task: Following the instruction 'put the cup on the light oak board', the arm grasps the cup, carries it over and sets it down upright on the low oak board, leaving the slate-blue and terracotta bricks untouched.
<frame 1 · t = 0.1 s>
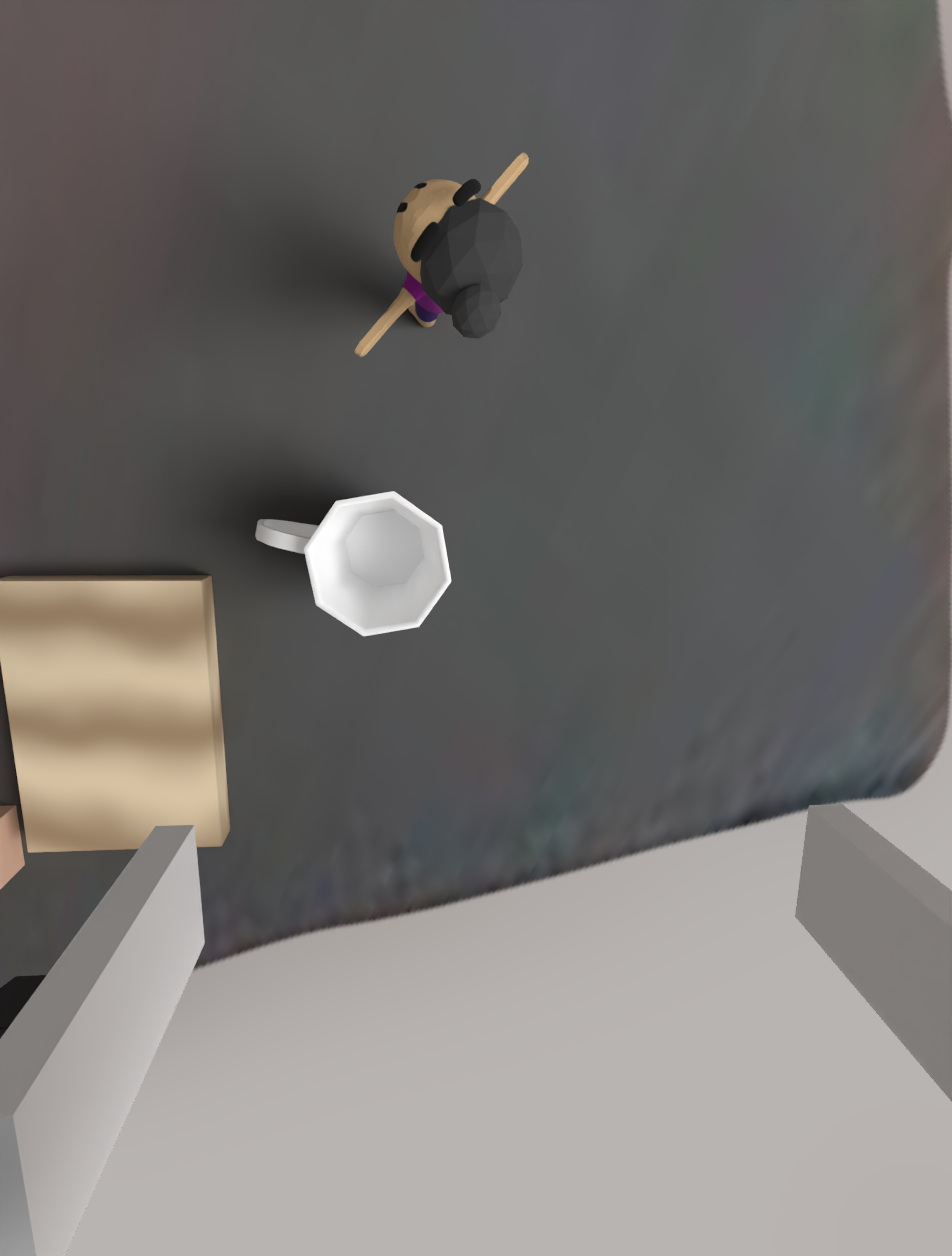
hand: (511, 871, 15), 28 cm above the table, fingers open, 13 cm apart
cup: (360, 540, 41), on the table
oak board: (126, 709, 42), on the table
toy: (447, 321, 38), on the table
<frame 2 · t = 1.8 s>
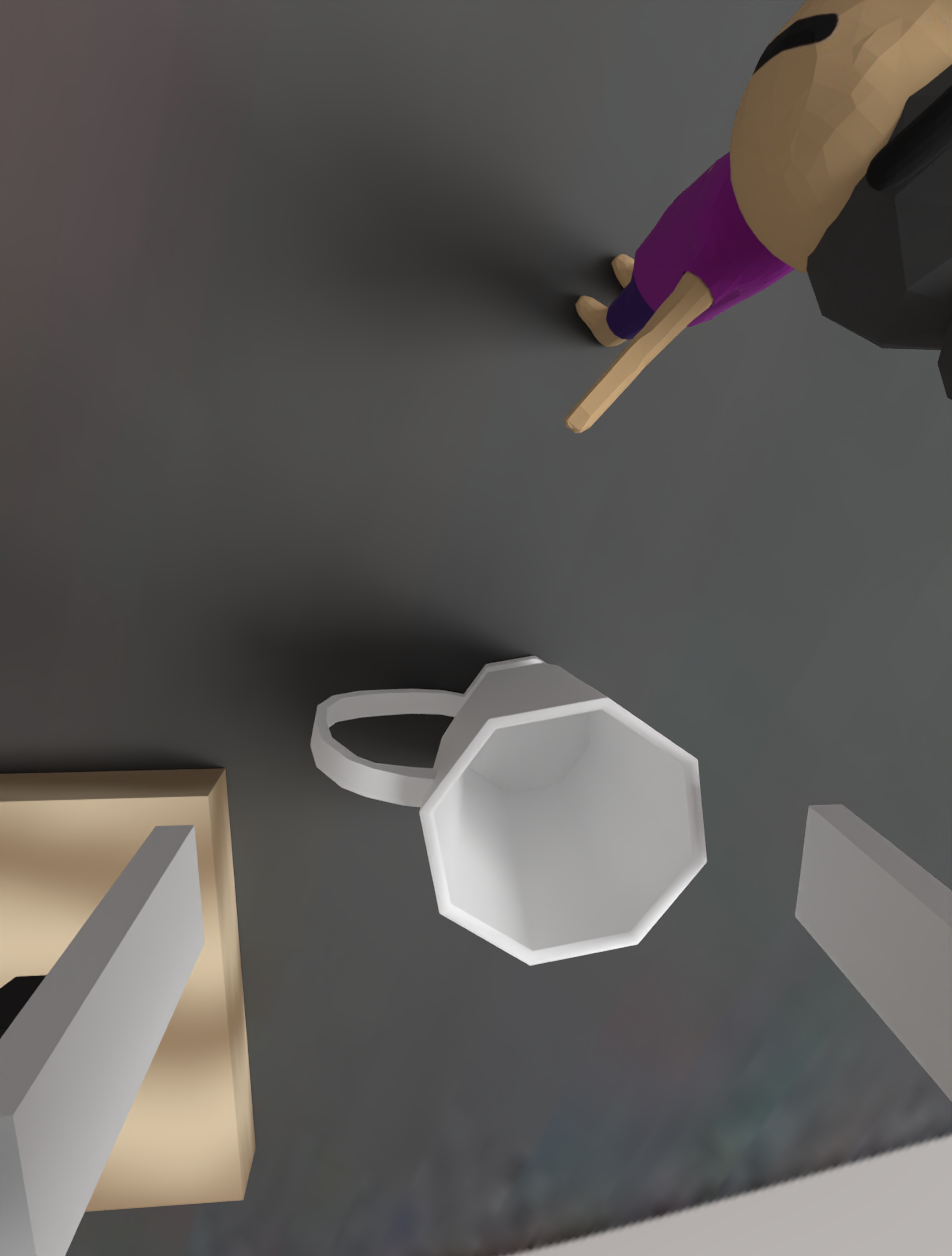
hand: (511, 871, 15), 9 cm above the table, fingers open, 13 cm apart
cup: (476, 705, 24), on the table
oak board: (83, 979, 25), on the table
toy: (642, 334, 22), on the table
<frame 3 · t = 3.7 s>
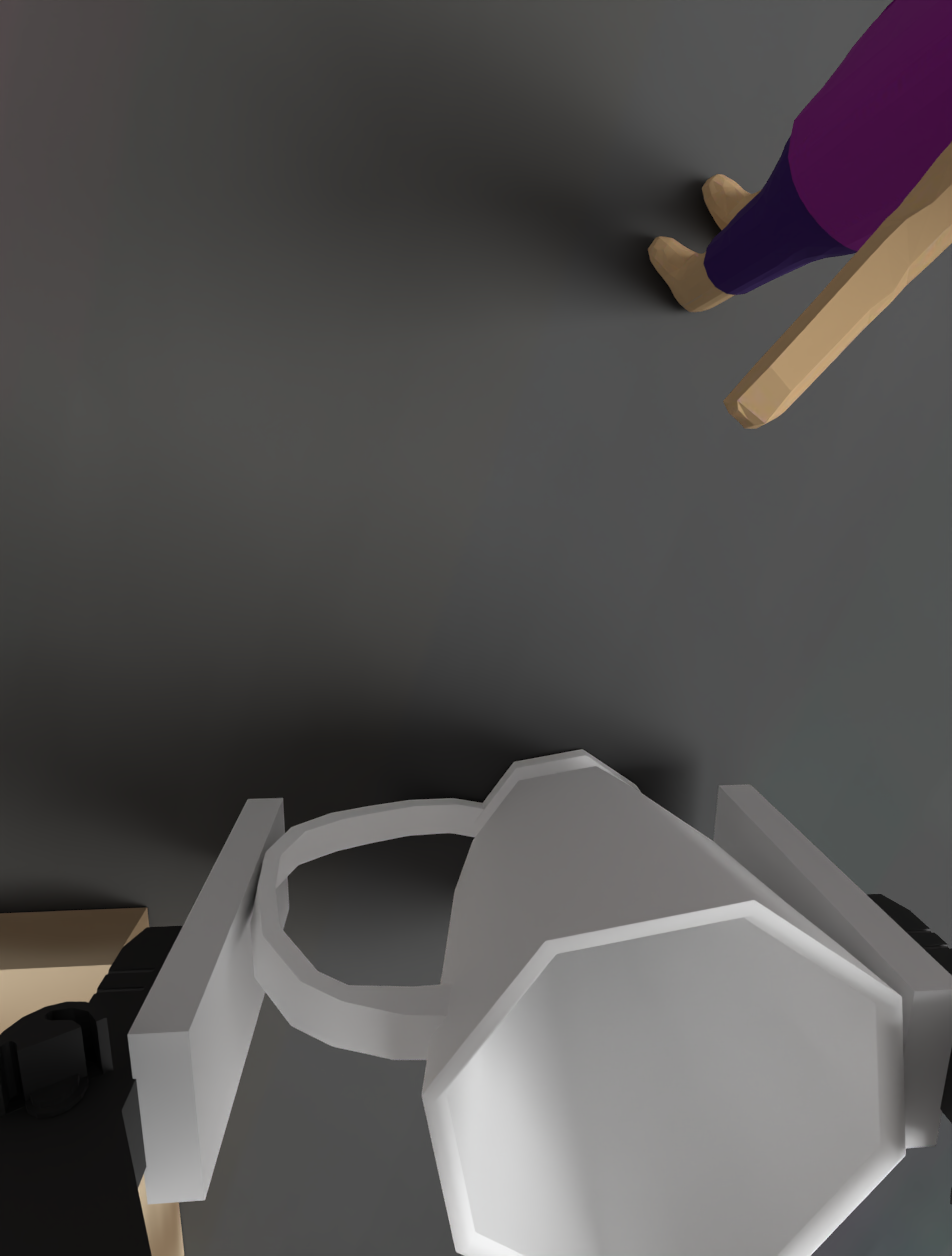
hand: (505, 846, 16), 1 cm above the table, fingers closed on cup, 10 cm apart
cup: (500, 816, 17), on the table, touching gripper
toy: (740, 296, 15), on the table
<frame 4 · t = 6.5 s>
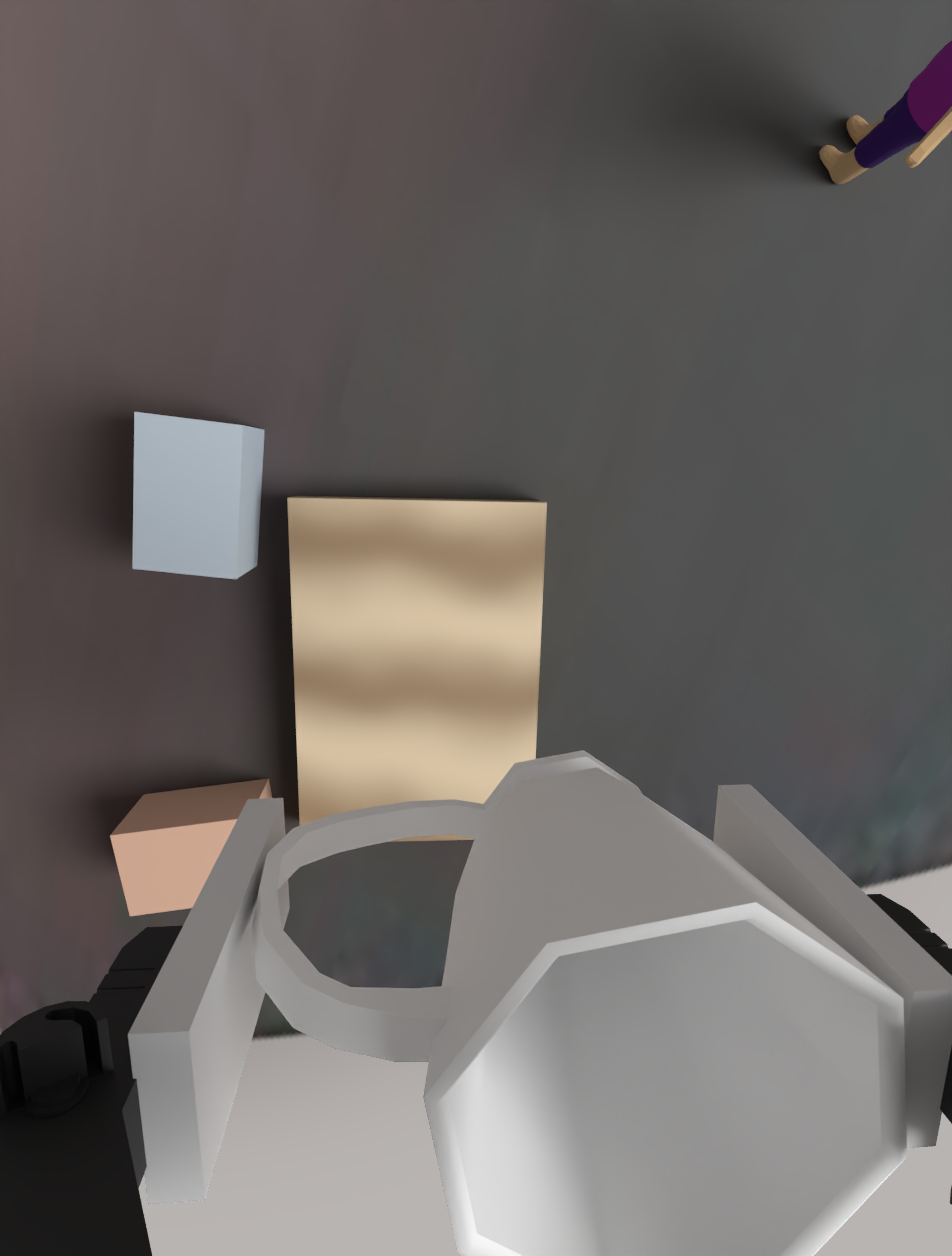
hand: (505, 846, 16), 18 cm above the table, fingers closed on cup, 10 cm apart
slate brick: (215, 493, 31), on the table
cup: (501, 817, 17), point 17 cm above the table, touching gripper
terracotta brick: (215, 822, 35), on the table
oak board: (418, 667, 34), on the table
toy: (860, 177, 30), on the table
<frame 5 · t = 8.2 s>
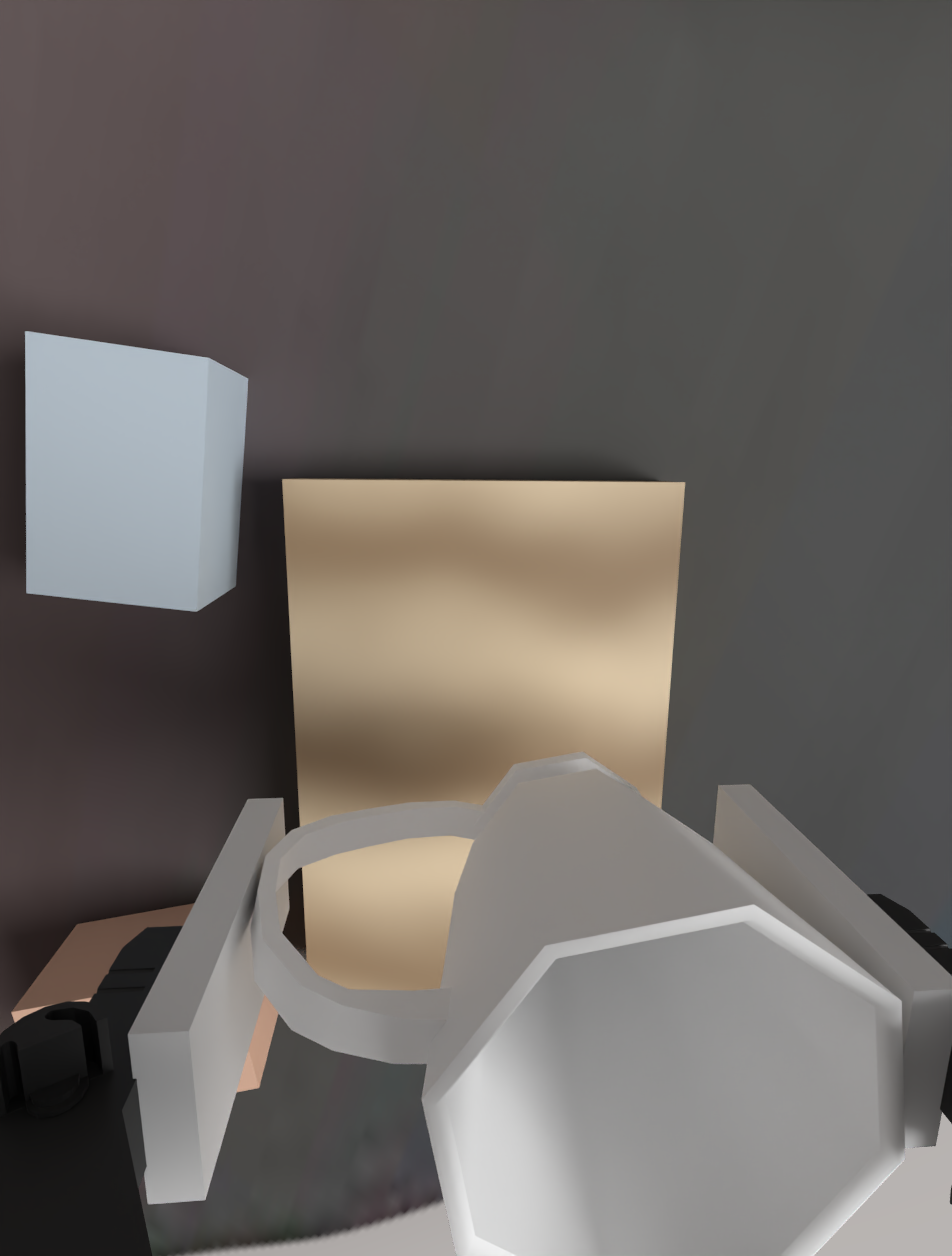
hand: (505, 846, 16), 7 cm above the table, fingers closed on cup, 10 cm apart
slate brick: (172, 476, 20), on the table
cup: (500, 819, 17), point 6 cm above the table, touching gripper
terracotta brick: (184, 956, 24), on the table
oak board: (479, 731, 23), on the table
when the fingers open (4 cm above the table, at t = 9.7 s): cup stays where it is, resting on oak board.
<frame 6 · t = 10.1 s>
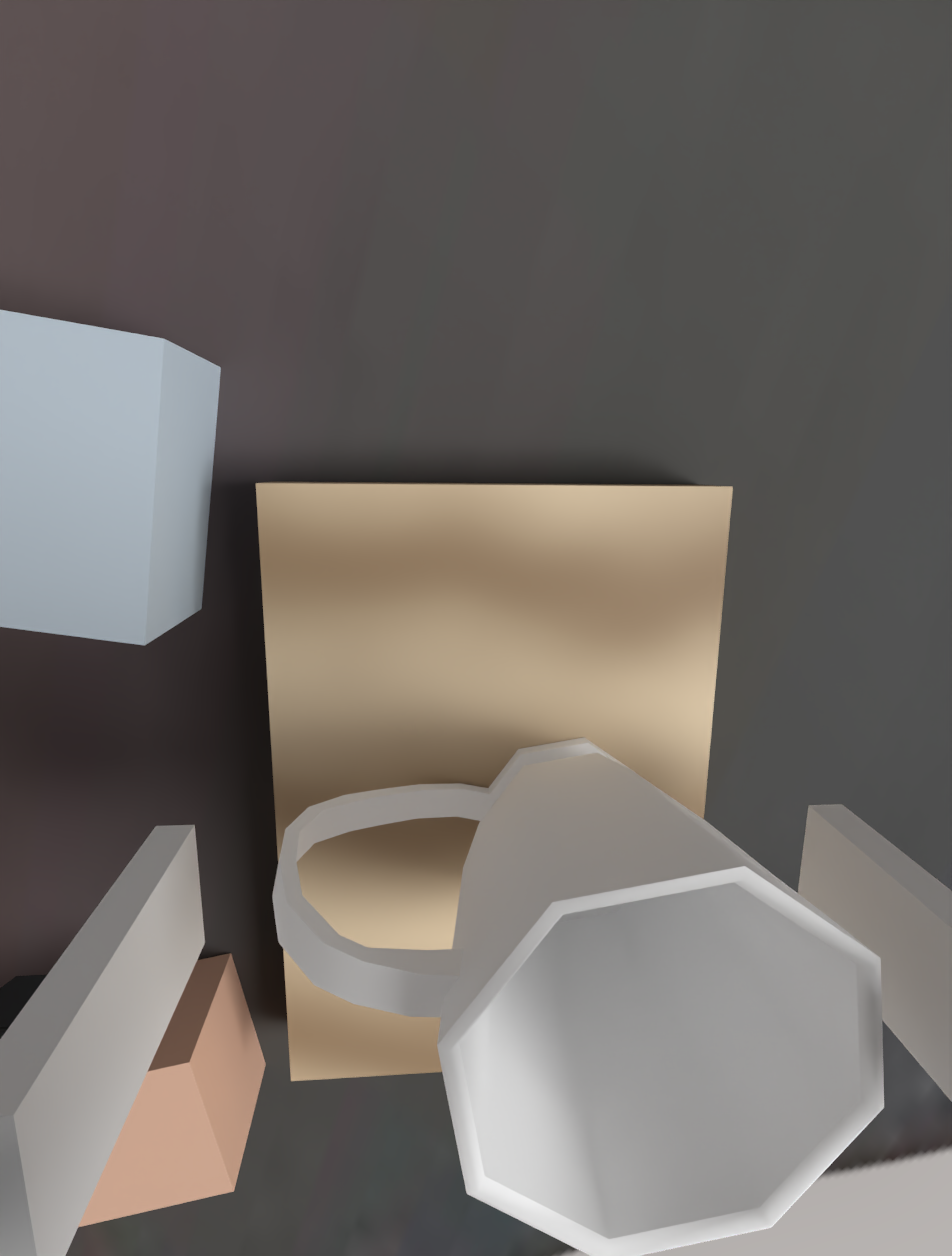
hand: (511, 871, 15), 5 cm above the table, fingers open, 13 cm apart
slate brick: (129, 479, 17), on the table
cup: (504, 801, 18), point 2 cm above the table, touching oak board
terracotta brick: (149, 1028, 21), on the table
oak board: (487, 772, 20), on the table
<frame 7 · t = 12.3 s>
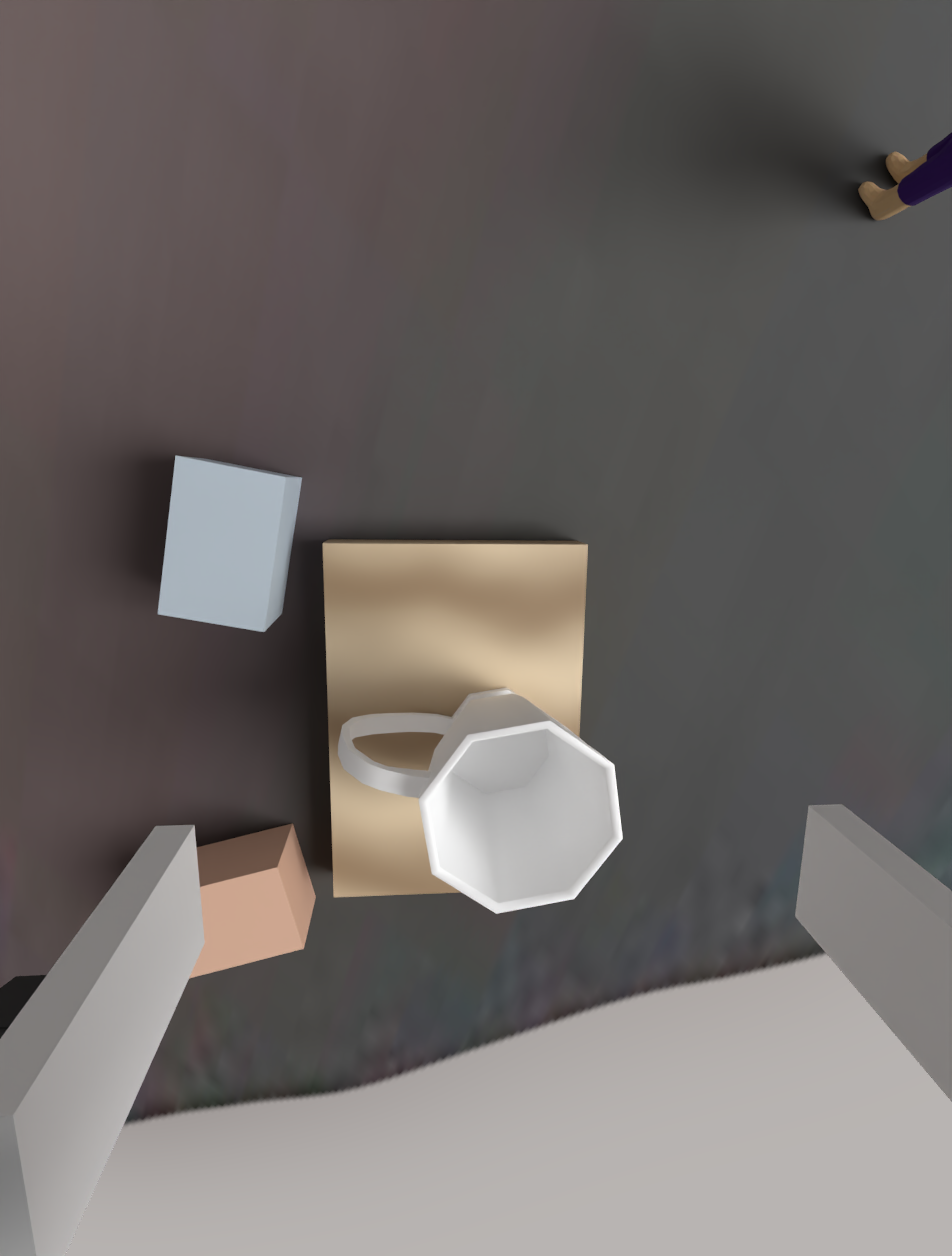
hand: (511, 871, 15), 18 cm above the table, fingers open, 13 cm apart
slate brick: (245, 537, 30), on the table
cup: (461, 725, 31), point 2 cm above the table, touching oak board
terracotta brick: (243, 874, 34), on the table
oak board: (453, 712, 33), on the table
toy: (899, 213, 30), on the table
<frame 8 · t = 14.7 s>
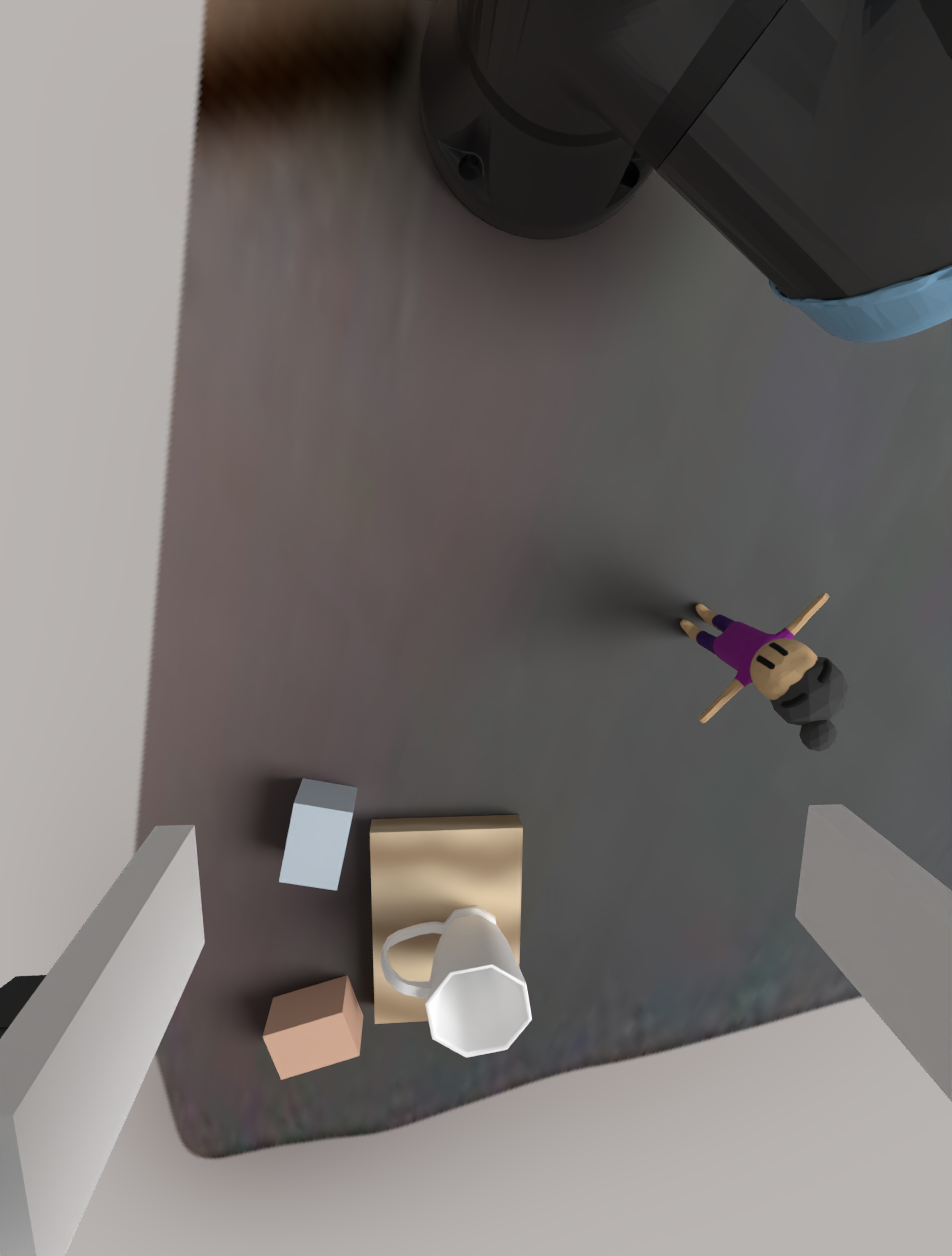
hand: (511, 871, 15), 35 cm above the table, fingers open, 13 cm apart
slate brick: (323, 819, 52), on the table
cup: (450, 926, 52), point 2 cm above the table, touching oak board
terracotta brick: (318, 1005, 55), on the table
oak board: (445, 911, 54), on the table
toy: (706, 631, 51), on the table
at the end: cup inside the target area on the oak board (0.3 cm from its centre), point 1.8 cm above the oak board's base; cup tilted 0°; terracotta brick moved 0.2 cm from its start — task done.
